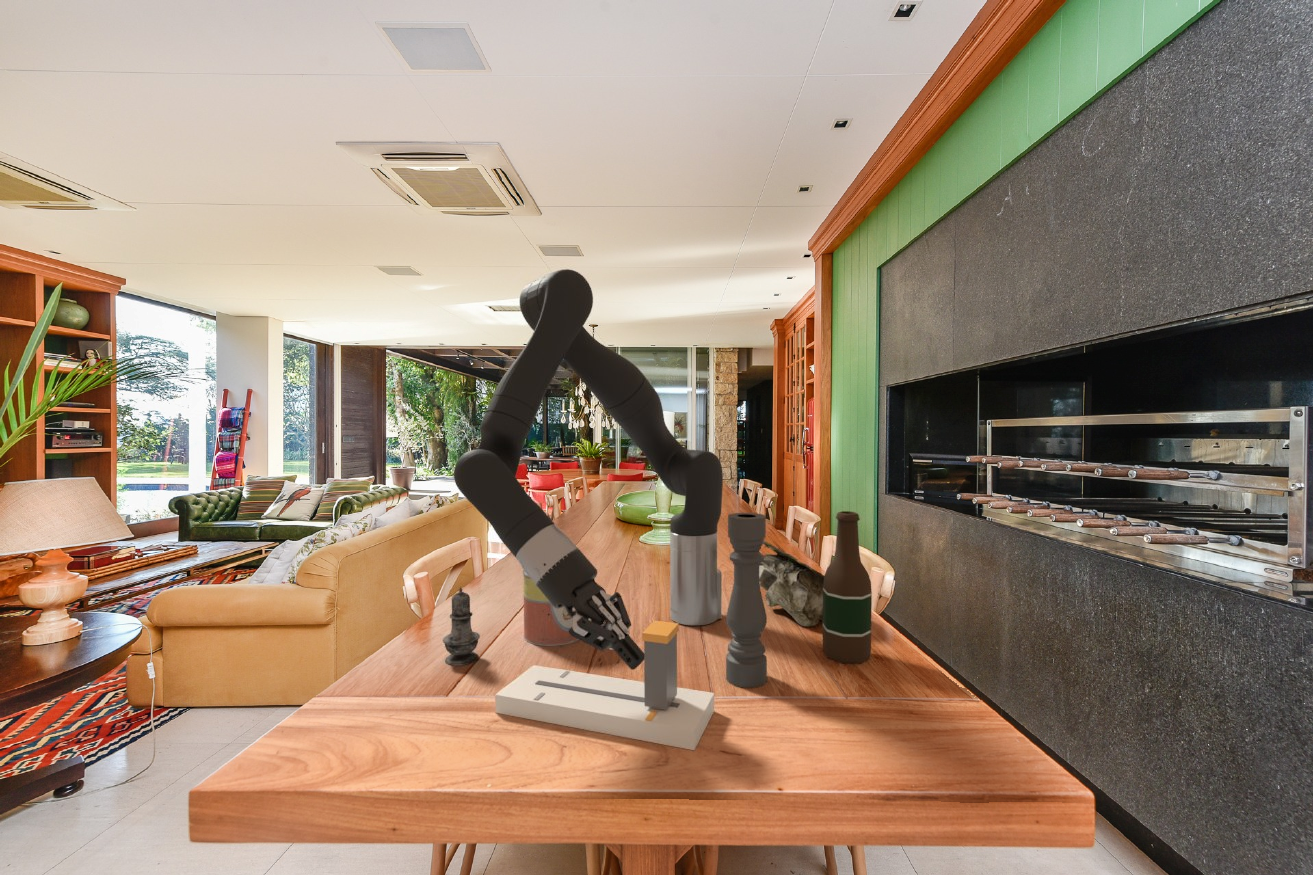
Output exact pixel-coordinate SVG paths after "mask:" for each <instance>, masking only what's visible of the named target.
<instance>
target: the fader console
mask: <svg viewBox="0 0 1313 875" xmlns="http://www.w3.org/2000/svg"><path fill="white" fill-rule="evenodd" d="M494 701H495V702H494V704H495V705H494V709H495V714H500V715H504V716H512V717H517V718H521V719H526V720H532V721H538V722H541V723H549V724H553V725H559V726H565V727H569V728H574V729H581V730H585V731H590V732H595V733H600V734H601V733H602V734H606V735H612V736H615V737H616V736H617V737H622V738H626V739H633V740H638V741H643V742H649V743H655V744H658V745H665V746H670V747H675V748H680V749H685V750H691V751H696V748H697V747H698V744H699V742H700V741H701V738H702V735H703V734H704V732H705V730H706V728H707V726H708V724H709V723H710V720H711V719H712V717H713V714H714V713H715V693H714V692H710V691H703V690H696V689H691V688H685V687H679V686H677V695H676V697H675V698H674V700H673V701H672V703H671V704H670V706H669V707H668V709H667V710H665V709H659V708H653V707H647V706H645V692H644V681H640V680H639V681H638V680H631V679H627V678H626V679H625V678H619V677H612V676H606V675H600V674H594V673H593V674H592V673H587V672H581V671H573V670H568V669H561V668H555V667H554V668H553V667H547V666H543V665H542V666H541V665H535V664H534V665H532V666H531V667H529V668H528V669H526V671H524V672H522V673H521V674H520V675H519V676H517V677H516V678H515V679H514V680H513V681H511V682H510V683H509V684H507V685H505V687H503V688H502V689H500V690H499V691H497V693H496V694H494Z"/></svg>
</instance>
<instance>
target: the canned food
mask: <svg viewBox="0 0 1313 875" xmlns="http://www.w3.org/2000/svg"><path fill="white" fill-rule="evenodd" d="M522 576H523V577H522V578H523V579H522V580H523V581H522V582H523V584H522V585H523V639H524V640H525V641H526V642H527V643H529V644H532V645H536V646H540V647H541V646H542V647H557V646H565V645H569V644H572V643H573V644H574V643H575V642H578V641H580V640H579V639H577V638H575V637H573V636H571V635H570V633H569V629H570V628H571V627H572V626H573V619H572V618H571V617H570V616H569V615H568V613H567V610H566V608H565V607H564V606H563V607H561V608H558V609H557V608H555V607H554V606H553V605H552V604H551V603H550V601H549V600H548V599H547V598H546V597H545V595H544V594H543V593H542V592H541V590H540V589H539V588H538V587H537V586H536V584H535V583H534V582H533V581H532V580H531V578H530V577H529V576H528V575H527V574H526V572H525V571H524V569H523V570H522Z"/></svg>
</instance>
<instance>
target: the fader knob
mask: <svg viewBox="0 0 1313 875" xmlns="http://www.w3.org/2000/svg"><path fill="white" fill-rule="evenodd" d="M679 624H680V623H677V622H669V621H660V620H654V621H652V623H651V624H649V625H648V626H647V627H646V628H645V629H644V630H643V632H642V633H641V640H642V642H643V644H644V645H643V646H644V648H643V650H644V651H643V653H644V661H643V662H644V663H643V664H644V665H643V666H644V668H643V669H644V673H643V674H644V676H643V677H644V680H643V682H644V692H645V706H647V707H653V708H659V709H665V710H667V709H668V707H669V706H670V704H671V703H672V701H673V700H674V698H675V697H676V695H677V687H678V633H679V631H680V630H679V629H680V627H679Z"/></svg>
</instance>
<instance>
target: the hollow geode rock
mask: <svg viewBox="0 0 1313 875" xmlns="http://www.w3.org/2000/svg"><path fill="white" fill-rule="evenodd" d="M763 545H764V546H765V548H767V549H770V550H771V551H773V552H774V553H776V554H773V553H771V554H770V553H769V554H767V553H766V554H763V555H764V561H763V562H761V565H759V585H760V588H762V589H763V590H765V591H766V592H765V601H766V605H767V606H768V607H770V608H773V607H775V606H777V607H778V606H780V607H781V608H782V609H783V610H785V611H786V612H787V614H789V615H790V616H792V618H793V619H794V620H795V622H796V623H797V624H798V625H800V626H801V627H815V626H816V625H817V624H819V622H820V621H823V582H824V575H825V574H822V573H821V572H818V570H815V569H813V568H812V567H810V566H809V565H808V564H806V563H803V562H801V561H800V560H799V559H798V558H796V557H794V556H793V555H791V553H786V552H785V551H784V550H782V549H781V548H777V547H776V546H775V545H773V544H771V543H770V542H768V541H766V540H764V543H763Z"/></svg>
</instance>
